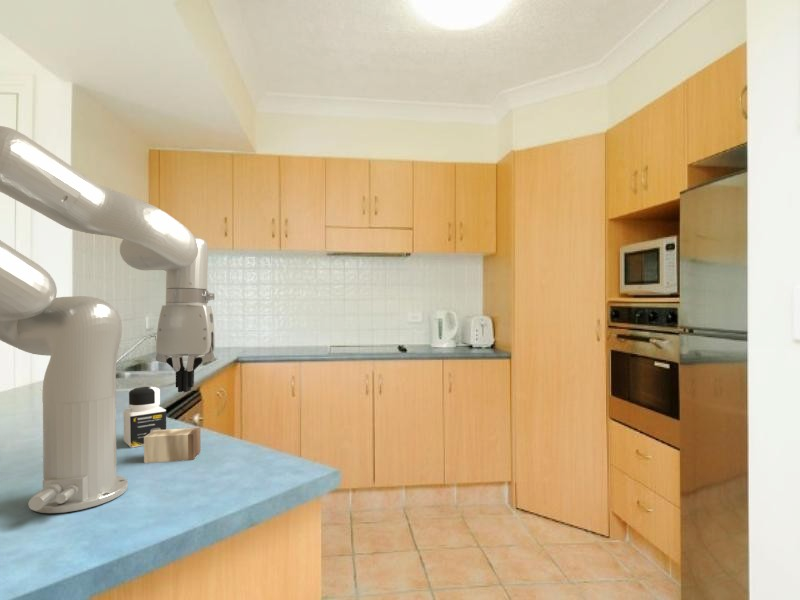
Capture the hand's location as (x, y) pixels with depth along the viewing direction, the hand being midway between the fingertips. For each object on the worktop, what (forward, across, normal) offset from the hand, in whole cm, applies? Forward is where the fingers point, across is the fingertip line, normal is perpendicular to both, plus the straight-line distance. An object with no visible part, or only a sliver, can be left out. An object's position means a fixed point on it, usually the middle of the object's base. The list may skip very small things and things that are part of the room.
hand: (184, 391), depth 92 cm
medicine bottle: (+13, +12, -14) cm, 23 cm away
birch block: (+11, -2, -1) cm, 11 cm away
